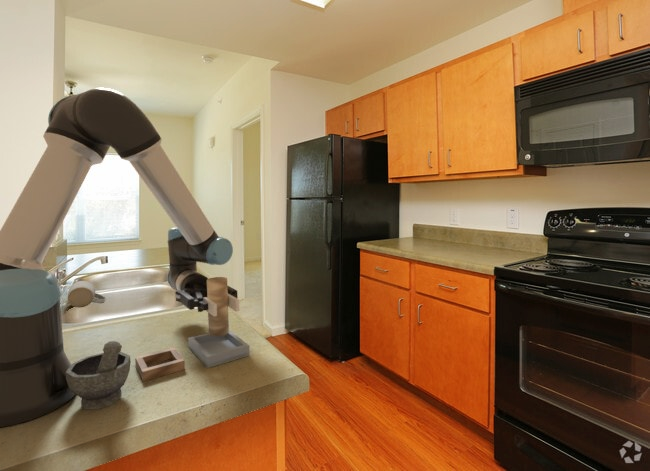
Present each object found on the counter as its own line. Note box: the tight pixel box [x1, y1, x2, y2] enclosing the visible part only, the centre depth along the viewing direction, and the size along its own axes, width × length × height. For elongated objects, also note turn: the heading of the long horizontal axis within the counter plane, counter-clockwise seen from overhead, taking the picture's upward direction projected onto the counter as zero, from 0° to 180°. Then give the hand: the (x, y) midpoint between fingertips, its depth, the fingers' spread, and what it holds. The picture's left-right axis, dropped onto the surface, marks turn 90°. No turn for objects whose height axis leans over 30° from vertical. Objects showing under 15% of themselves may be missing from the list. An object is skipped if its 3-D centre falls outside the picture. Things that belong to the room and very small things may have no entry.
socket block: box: [134, 347, 186, 382], centre depth 75 cm, size 8×8×2 cm
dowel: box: [207, 276, 230, 336], centre depth 82 cm, size 5×5×13 cm
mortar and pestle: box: [66, 340, 131, 410], centre depth 63 cm, size 11×9×12 cm
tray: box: [188, 329, 250, 369], centre depth 83 cm, size 10×13×2 cm
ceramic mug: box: [67, 280, 107, 309], centre depth 119 cm, size 11×8×8 cm
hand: (226, 307), depth 78 cm, fingers closed on dowel, 4 cm apart
